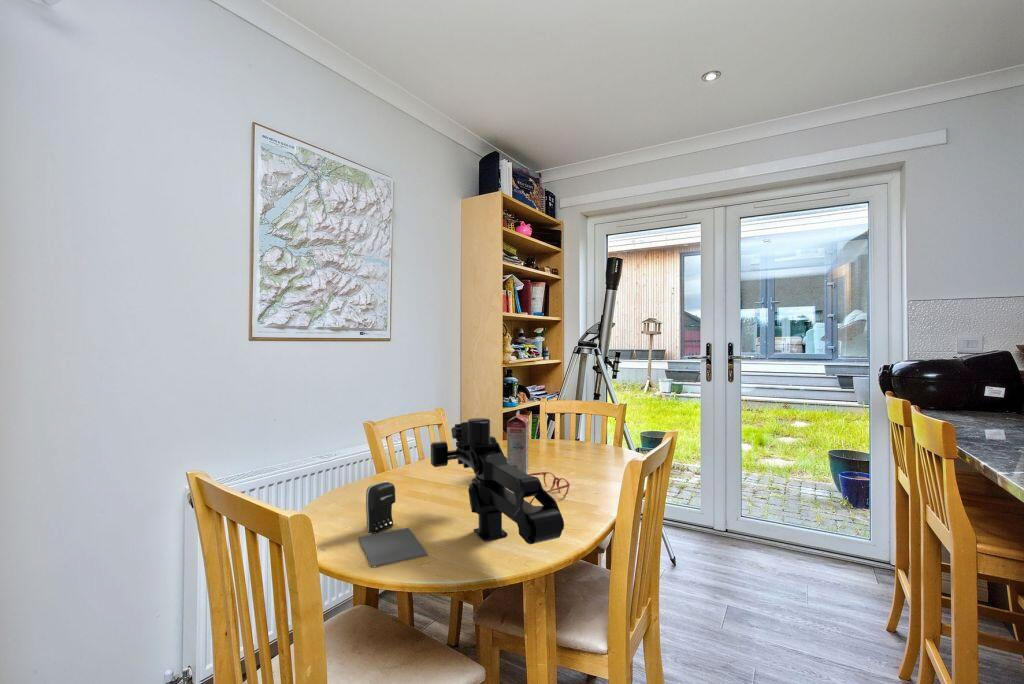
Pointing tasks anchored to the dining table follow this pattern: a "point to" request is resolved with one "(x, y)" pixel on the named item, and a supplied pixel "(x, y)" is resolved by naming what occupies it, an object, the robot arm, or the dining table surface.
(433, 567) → the dining table surface
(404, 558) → the mat
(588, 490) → the dining table surface
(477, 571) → the dining table surface
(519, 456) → the juice carton
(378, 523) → the battery charger
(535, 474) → the red eyeglasses
